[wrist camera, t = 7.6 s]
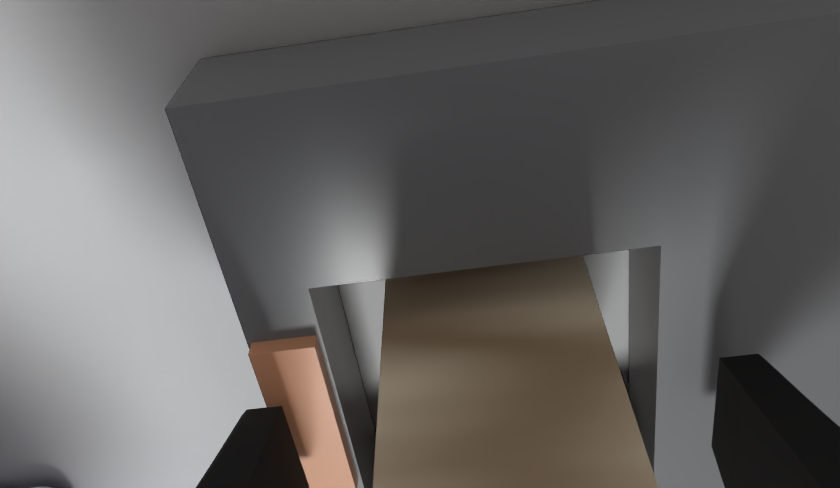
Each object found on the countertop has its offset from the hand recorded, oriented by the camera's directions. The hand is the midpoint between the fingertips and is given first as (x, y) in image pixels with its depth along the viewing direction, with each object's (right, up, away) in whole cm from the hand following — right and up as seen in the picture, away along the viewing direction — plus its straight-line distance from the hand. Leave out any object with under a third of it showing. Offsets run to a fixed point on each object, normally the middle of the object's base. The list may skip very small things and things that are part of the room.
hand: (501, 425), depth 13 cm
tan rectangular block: (0, +2, +2) cm, 3 cm away
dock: (+3, -2, +4) cm, 5 cm away
